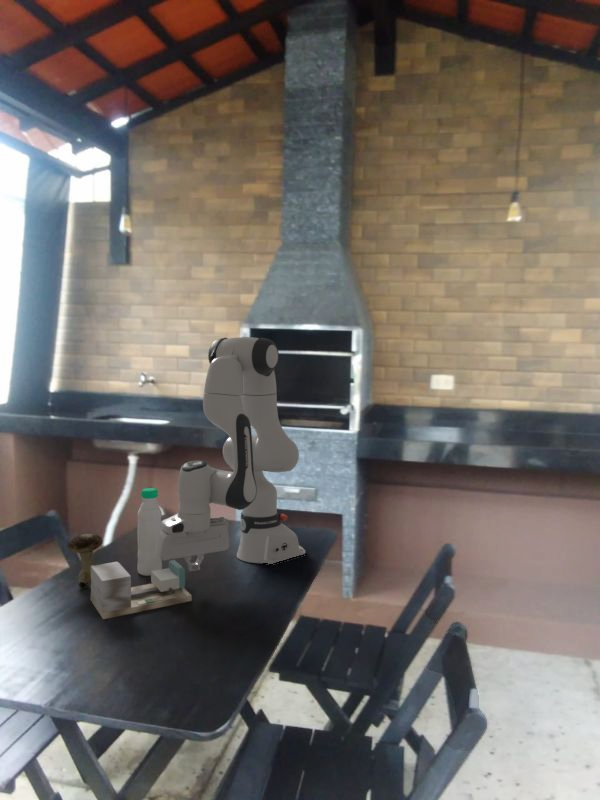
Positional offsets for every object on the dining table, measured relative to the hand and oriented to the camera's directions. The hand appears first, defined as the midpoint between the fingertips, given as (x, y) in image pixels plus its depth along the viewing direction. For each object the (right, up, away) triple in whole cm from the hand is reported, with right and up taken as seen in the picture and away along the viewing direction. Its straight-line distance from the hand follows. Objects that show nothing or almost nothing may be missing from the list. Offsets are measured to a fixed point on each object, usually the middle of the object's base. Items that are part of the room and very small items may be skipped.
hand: (193, 570), depth 172 cm
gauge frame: (-12, -6, -7) cm, 15 cm away
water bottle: (-15, -4, +14) cm, 21 cm away
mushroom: (-30, -5, +1) cm, 30 cm away
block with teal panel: (-6, -3, -5) cm, 8 cm away
